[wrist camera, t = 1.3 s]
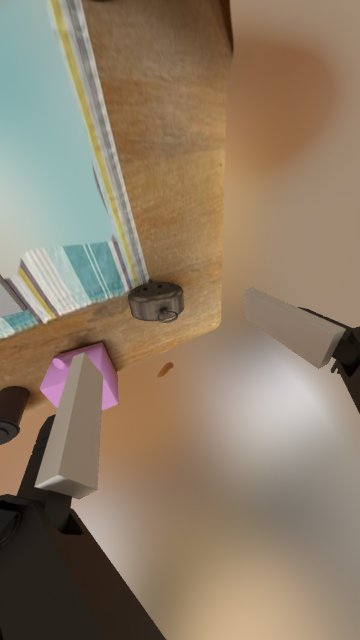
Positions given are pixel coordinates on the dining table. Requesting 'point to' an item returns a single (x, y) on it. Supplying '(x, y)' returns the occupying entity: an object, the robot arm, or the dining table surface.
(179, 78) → the dining table surface
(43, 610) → the robot arm
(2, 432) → the coffee cup
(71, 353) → the pink toy block
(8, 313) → the mount board
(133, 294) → the alarm clock
